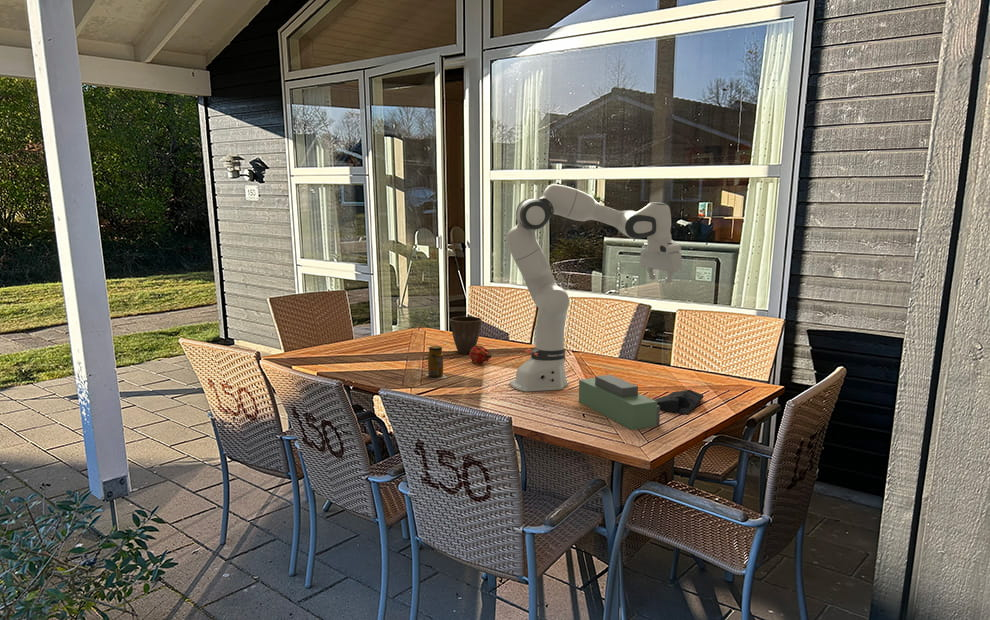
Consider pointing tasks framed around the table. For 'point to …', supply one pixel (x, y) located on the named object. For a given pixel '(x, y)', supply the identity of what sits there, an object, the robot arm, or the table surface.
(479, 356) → the dragon fruit
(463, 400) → the table surface
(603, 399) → the block
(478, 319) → the plant pot
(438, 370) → the condiment
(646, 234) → the robot arm
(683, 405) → the black crumpled cloth
